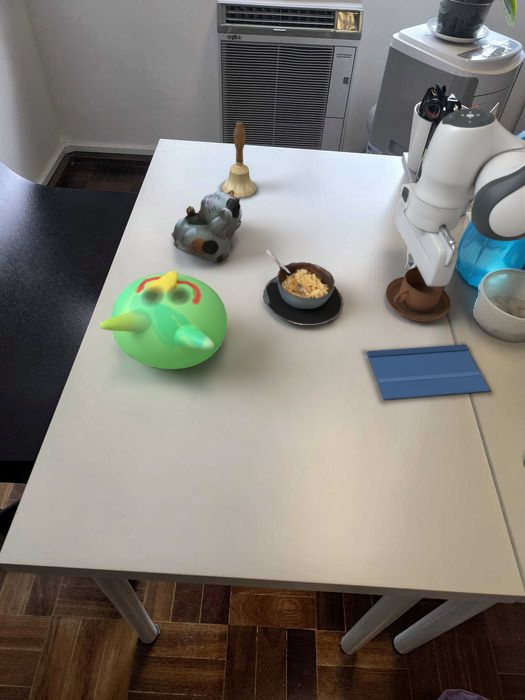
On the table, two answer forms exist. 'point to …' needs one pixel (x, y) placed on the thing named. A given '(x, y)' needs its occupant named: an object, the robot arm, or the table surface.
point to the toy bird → (168, 321)
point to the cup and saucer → (417, 297)
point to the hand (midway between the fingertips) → (410, 272)
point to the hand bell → (239, 169)
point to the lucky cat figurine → (209, 227)
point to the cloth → (426, 372)
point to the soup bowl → (303, 293)
